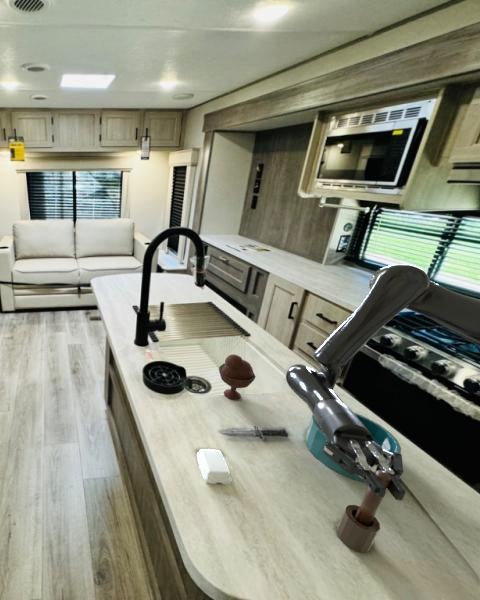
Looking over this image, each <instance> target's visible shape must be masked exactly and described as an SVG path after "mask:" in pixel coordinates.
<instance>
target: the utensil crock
mask: <svg viewBox="0 0 480 600" xmlns="http://www.w3.org/2000/svg"><path fill="white" fill-rule="evenodd" d="M359 507H360V505H356V504H348V505H347V506H345V508H344V510H343V513H342V515H341V517H340V520H339V522H338V524H337V526H336V534H337V537H338V539H339V540H340V542H342V543H343V544H344V546H346V547H348V548H349V549H350V550H352V551H354V552H356V553H360V554H366V553H368V552H369V551H370V550H371V548H372V546H373V544H374V542H375V540H376V538H377V536H378V534H379V532H380V530H381V523H380V522H379V520H378V518H377V517H376V515H375V516H374V518H373V520H372V523H371V525H370V526H365V525H362V524H361V523H359V522H358V521H357V520H356V519H355V518H354V517H355V515H356V513H357V510H358V509H359Z"/></svg>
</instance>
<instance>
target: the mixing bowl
mask: <svg viewBox="0 0 480 600" xmlns="http://www.w3.org/2000/svg"><path fill="white" fill-rule="evenodd" d="M353 413H354V414H355V415H356V416H357V418H358V419H359V420H360V421H361V422H362V424H363V425H364V426H365V427H366V428H367V430H368V431H369V432H370V434H371V436H372V438H373V441H374V442H375V443H376V444H378V445H379V446H381V448H382V449H383V450H384V451H387V452H390V453H392V454H393V452H394V451H396V452H399V453H400V454H401V455H402V446H401V444H400V442H399V440H398V439H397V438H396V437H395V435H393V434H392V433H391V432H390V431H388V429H386V428H385V427H383V425H381V424H379V423H377V422H376V421H374V420H373V419H370V418H368V417H366V416H364V415H362V414H359V413H356V412H353ZM326 442H329V440H328V438H327V437H326V435H325V434H324V432H323V431H322V429H321V428H320V426H319V425H318V423H317V421H316V419H315V416H314V415H313V414H312V416H311V418H310V422H309V425H308V428H307V431H306V433H305V444H306V446H307V447H308V450H309V451H310V452H311V453H312V454H313V456H314V457H315V458H316V459H317V460H318V461H320V462H321V463H322V464H324V466H326V467H327V468H330V470H333V471H335V472H336V473H338V474H340V475H341V476H344V477H347V478H349V479H352V480H355V481H359V482H364V483H365V481H364V480H363V479H362V478H360V477H359V475H357V474H354V475H351V474H349V473H347V472H346V471H345V470H344V469H342V468H341V467H340V466H339V465H337V464H336V463H335V462H334V461H333V460H331V459H330V458H329V457H328V456H326V455H325V454H324V453H323V449H324V446H325V443H326ZM383 458H384V457H383ZM384 459H385V458H384ZM343 461H344V460H343ZM344 463H345V464H347V465H348V463H347V462H346V461H344ZM386 463H387V461H386ZM387 465H388V466H389V467H390V465H389V464H387ZM370 471H372V470H370ZM383 471H384V470H383Z"/></svg>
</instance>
